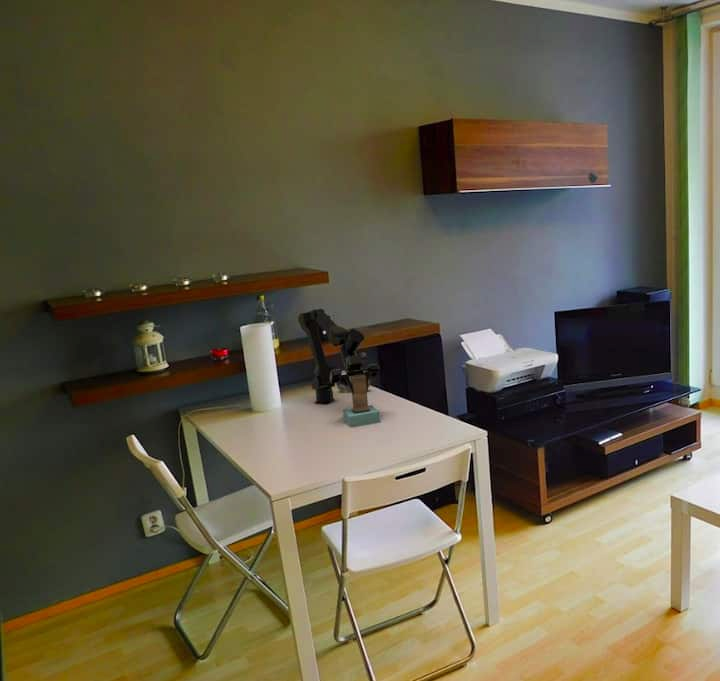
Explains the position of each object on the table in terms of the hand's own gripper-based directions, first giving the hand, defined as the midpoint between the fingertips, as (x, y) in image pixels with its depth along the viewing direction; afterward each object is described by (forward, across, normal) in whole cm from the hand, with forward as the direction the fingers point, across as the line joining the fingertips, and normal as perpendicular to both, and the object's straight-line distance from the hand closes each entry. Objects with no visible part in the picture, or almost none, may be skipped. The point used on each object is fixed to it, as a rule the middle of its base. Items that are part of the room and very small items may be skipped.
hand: (360, 392), depth 227 cm
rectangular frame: (+7, 0, +9) cm, 12 cm away
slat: (+4, 0, +6) cm, 7 cm away
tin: (-22, +9, +39) cm, 45 cm away
